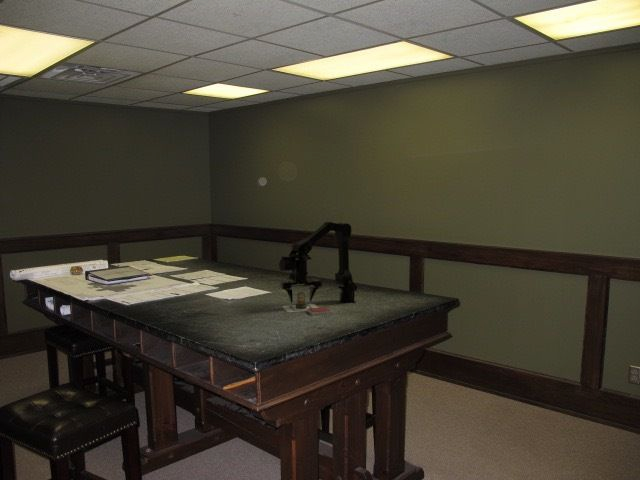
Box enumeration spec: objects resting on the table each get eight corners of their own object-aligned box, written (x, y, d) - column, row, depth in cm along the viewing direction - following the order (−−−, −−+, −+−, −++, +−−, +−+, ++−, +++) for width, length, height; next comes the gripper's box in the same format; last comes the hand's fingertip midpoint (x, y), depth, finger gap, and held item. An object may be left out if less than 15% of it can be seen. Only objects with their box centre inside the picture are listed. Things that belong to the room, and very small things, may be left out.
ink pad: (327, 309, 238) (327, 306, 238) (332, 313, 230) (332, 310, 230) (306, 311, 235) (306, 308, 235) (311, 315, 227) (311, 312, 227)
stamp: (307, 308, 239) (307, 292, 238) (297, 309, 237) (297, 293, 236) (304, 306, 244) (304, 290, 243) (294, 306, 242) (294, 291, 241)
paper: (313, 304, 248) (313, 303, 248) (321, 310, 237) (321, 309, 237) (281, 306, 244) (281, 305, 244) (287, 312, 232) (287, 311, 232)
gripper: (315, 265, 249) (314, 297, 250) (277, 267, 243) (277, 299, 245) (322, 269, 238) (321, 302, 240) (283, 271, 233) (283, 304, 234)
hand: (301, 302), depth 240 cm, fingers open, 9 cm apart
